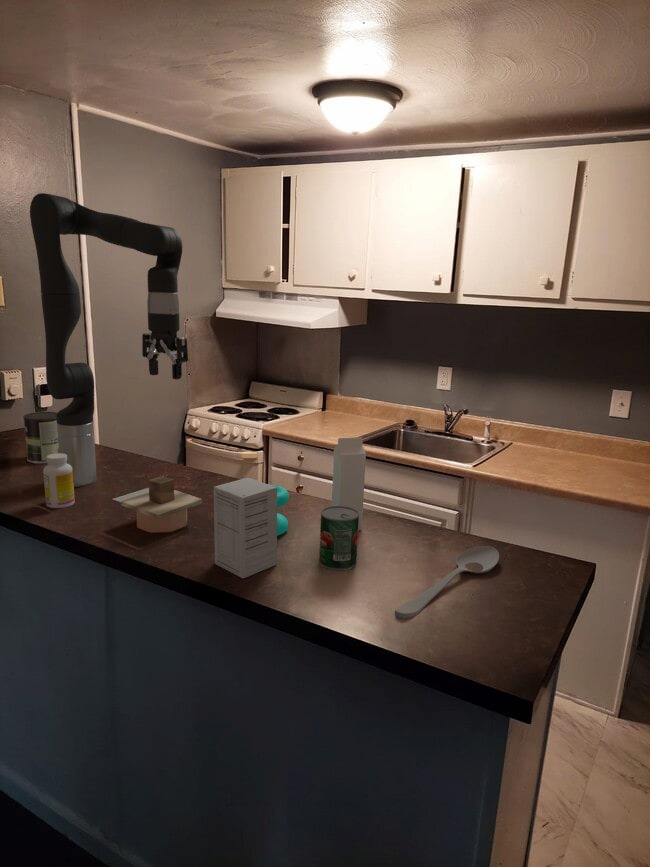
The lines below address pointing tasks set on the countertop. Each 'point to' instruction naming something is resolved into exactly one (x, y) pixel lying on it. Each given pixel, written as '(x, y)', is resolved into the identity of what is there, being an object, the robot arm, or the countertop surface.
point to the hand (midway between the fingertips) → (165, 376)
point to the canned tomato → (338, 537)
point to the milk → (349, 475)
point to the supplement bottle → (58, 482)
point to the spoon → (451, 578)
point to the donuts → (281, 500)
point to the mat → (132, 495)
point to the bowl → (162, 522)
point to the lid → (161, 499)
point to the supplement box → (245, 526)
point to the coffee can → (40, 436)
